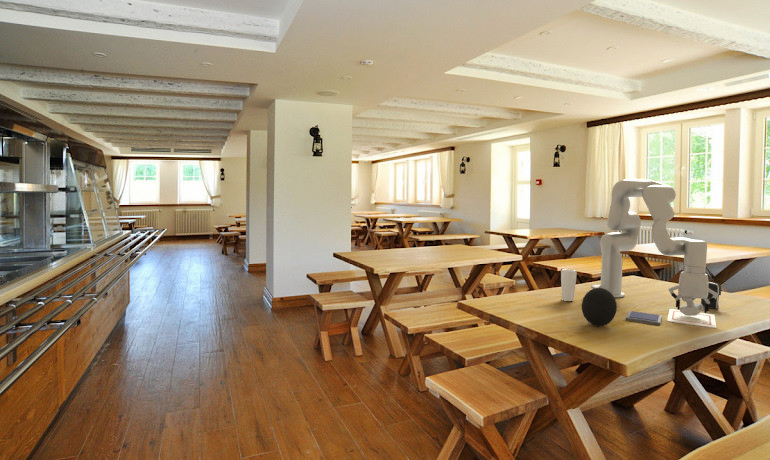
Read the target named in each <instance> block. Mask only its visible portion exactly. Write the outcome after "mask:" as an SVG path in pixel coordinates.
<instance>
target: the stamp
mask: <svg viewBox="0 0 770 460" xmlns="http://www.w3.org/2000/svg"><path fill="white" fill-rule="evenodd" d="M680 299H681V300H682V301H683V302H684V303H686V304H684V305H682V306H681V307H680V312H681V313H683V314H684V315H687V316H696V315H698V314H699V313H702V312H704V306H703V305H702V304H701V303H694V301H695V300H696V299H697V298H690V297H683V296H682V297H681V298H680Z"/></svg>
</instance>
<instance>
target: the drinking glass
mask: <svg viewBox="0 0 770 460" xmlns="http://www.w3.org/2000/svg"><path fill="white" fill-rule="evenodd" d="M560 281H561V283H560V285H561V286H560V287H561V300H562V299H563V300H566V301H572V302H574V301H573V300H575V289H576V284H577V283H576V282H577V270H576V269H571V268H562V269H561V271H560ZM563 300H562V301H563ZM566 301H565V302H566Z"/></svg>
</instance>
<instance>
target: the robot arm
mask: <svg viewBox="0 0 770 460" xmlns="http://www.w3.org/2000/svg"><path fill="white" fill-rule="evenodd" d="M676 196H677V195H676V191H675V189H674V188H673V187H672V186H671V185H669V184H665V183H662V182H659V181H656V180H652V179H648V178H647V179H646V178H638V179H637V178H626V179H621V180H619V181H617V182H616V183H615V184H614V185H613V186H612V190H611V202H610V206H609V211H608V216H607V223H606V224H607V227H608V229H609V230H611V231H615V232H608V233H605V234H604V235H602V236H601V238H600V241H599V245H600V249H601V250H600V251H601V252H600V253H601V267H600V268H601V270H600V284H598V285H596V284H591V286H590V288H591V289H594V288H603V289H606V290H608V291H609V292H610V293H611V294H612V295H613V296H614V298H624V297H625V293H624V292H622V282H623V281H622V280H623V263H624V260H623V257H622V255H621V252H629V251H633V249H634V248H635V247H636V245H637V242H638V239H639V233H640V228H641V222H642V221H641V217H640V216H639V214H638V213H636V212H635V211H630V209H631V202H630V198H642V199H643V201H644V203H645V206H646V208H647V210H648V212H649V213H650V216H651V218H652V220H653V223H652V226H651V238H652V239H653V242H654V244H655V246H656V249H657V250H658V252H659V253H661V254H662V255H664V256H667V257H669V256H672V257H673V256H683V265H679V267H678V268H679V270H681V271H680V275H679V279H678V284H677V285H674V286H672V287H669V288H668V292H669V293H670V295H671V296H672V297H673V298H674V300H675V308H676V310H680V308H681V307H680V306H681V299H682V298H681V297H682V296H683V297H690V298H696V299H699V300H701V299H704V300H705V306H703V308H704V311H703V312H704V313H706V314H708V312H709V311H710V308H709V304H710V303H711V302H713V301H714V300H715V299H716V298H717V297H718V296H719V297H720V295H719V294H718V293H716V292H714V291H713V290H711V289H709V288H708V282H709V276H708V274H707V273H706V271H707V270H706V269H707V253H708V242H707V241H705V240H701V239H691V238H688V237H670V235H669V232H668V230H667V223H668V222H669V221H670V220H672V219H673V218H674V217H675V215H676V214H675V211H674V209H673V207H672V206H671V203H673V202H674V201H675V199H676ZM616 231H618V232H616ZM619 231H621V232H619ZM674 291H677V293H678V294H676V293H675V292H674ZM708 292H709V293H711V294H713V297H712V298H710V299H708V298H707V297H708Z"/></svg>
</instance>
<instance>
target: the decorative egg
mask: <svg viewBox="0 0 770 460" xmlns="http://www.w3.org/2000/svg"><path fill="white" fill-rule="evenodd" d="M617 307H618V306H617V301H616V297H614V296H613V295H612V294H611V293H610V292H609V291H608V290H606V289H603V288H594V289H593V288H591V289H590V290H588V291H587V292H586V294H584V296H583V298H582V302H581V311H582V315H583V316H584V318H585V320H586V321H587V322H588V323H589V324H590V325H593V326H595V325H596V326H595V327H604V326H607V325H608V324H610V323H611V322H612V321H613V320H614V319H615V317H616V313H617V311H618V310H617Z"/></svg>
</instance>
